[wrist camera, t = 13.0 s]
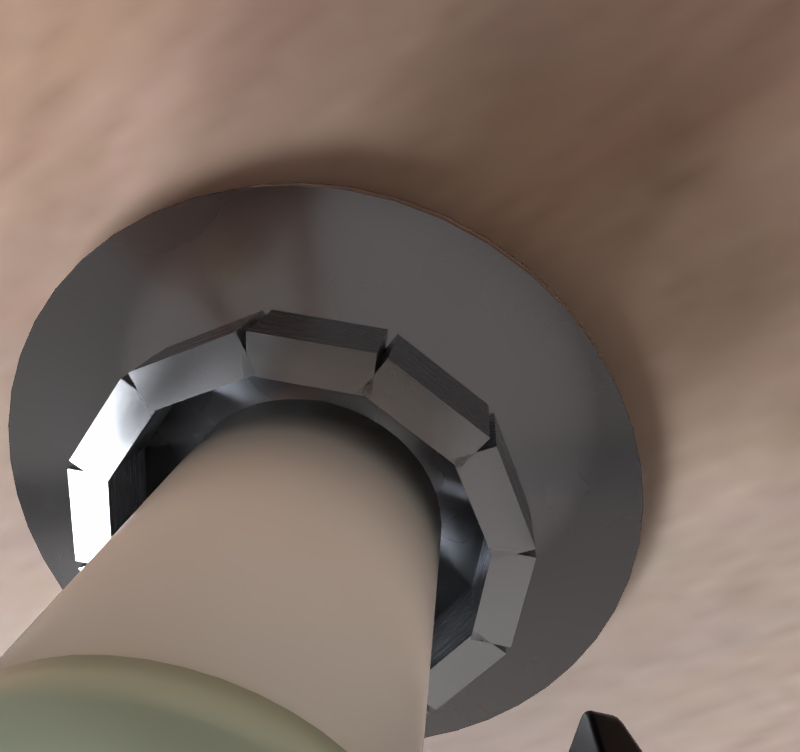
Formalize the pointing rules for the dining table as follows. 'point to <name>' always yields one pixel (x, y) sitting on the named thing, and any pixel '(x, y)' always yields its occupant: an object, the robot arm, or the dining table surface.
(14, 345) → the dining table surface
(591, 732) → the robot arm
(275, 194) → the collar
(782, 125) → the dining table surface
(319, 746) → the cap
